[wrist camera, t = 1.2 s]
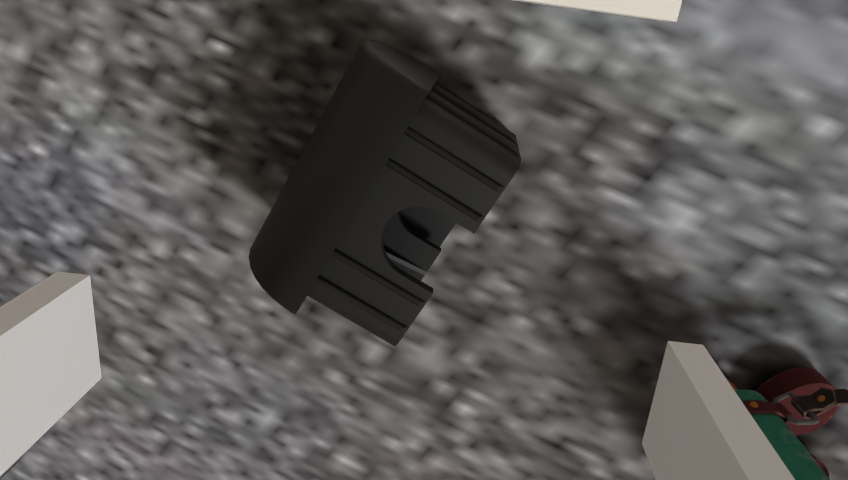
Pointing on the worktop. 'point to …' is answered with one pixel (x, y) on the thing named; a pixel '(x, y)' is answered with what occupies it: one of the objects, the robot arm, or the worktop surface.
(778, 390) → the binoculars
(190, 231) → the worktop surface
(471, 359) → the worktop surface
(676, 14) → the mount tray
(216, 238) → the worktop surface
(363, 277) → the end cap
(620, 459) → the worktop surface
